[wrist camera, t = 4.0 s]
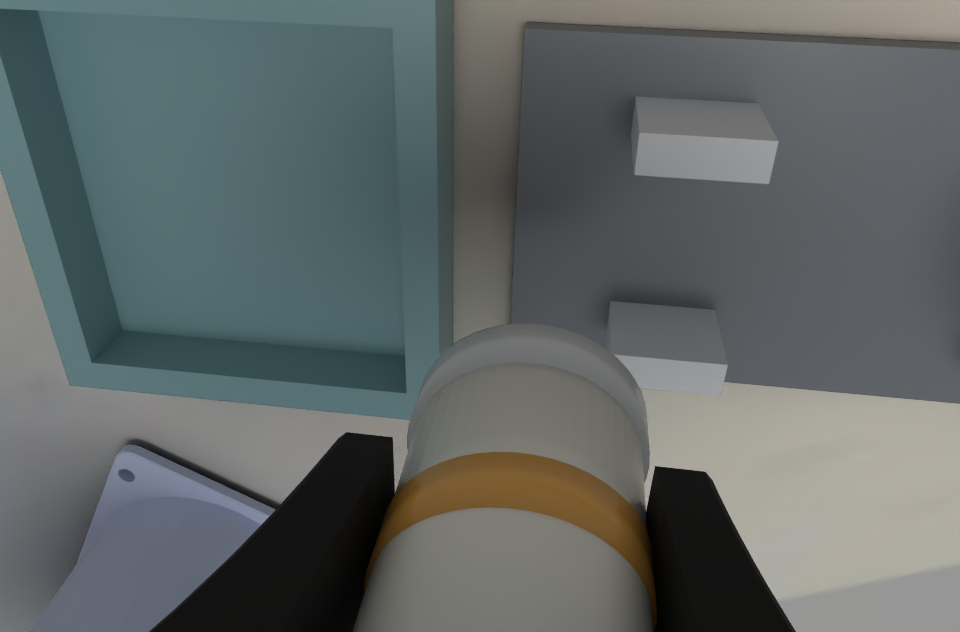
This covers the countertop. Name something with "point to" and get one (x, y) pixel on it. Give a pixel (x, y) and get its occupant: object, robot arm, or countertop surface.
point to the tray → (237, 193)
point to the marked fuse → (518, 494)
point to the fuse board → (744, 206)
